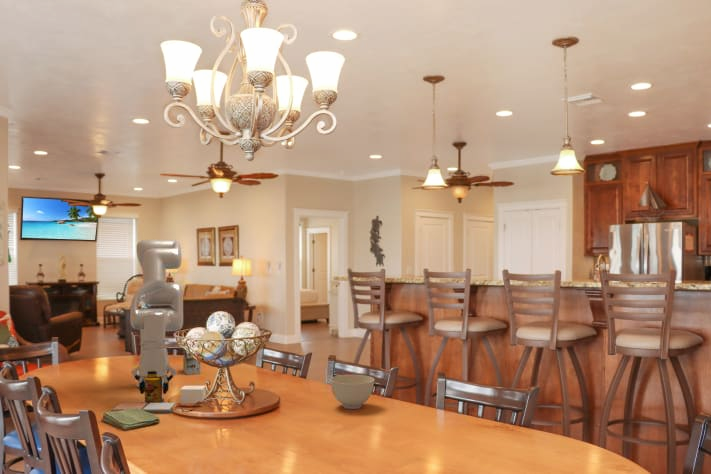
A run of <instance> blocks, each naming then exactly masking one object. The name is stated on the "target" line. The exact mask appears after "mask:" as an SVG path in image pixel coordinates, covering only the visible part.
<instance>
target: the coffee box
mask: <svg viewBox="0 0 711 474" xmlns="http://www.w3.org/2000/svg"><path fill="white" fill-rule="evenodd" d="M182 359H183V373H184V374H185V375H199V374H201V361H200V362H199V361H197V360H196V359H194V358H193V357H191V356H189V355H188V354H187V353H186V352H185V350H184V349H183V358H182Z"/></svg>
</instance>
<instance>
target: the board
mask: <svg viewBox="0 0 711 474" xmlns="http://www.w3.org/2000/svg"><path fill="white" fill-rule="evenodd" d="M175 404H177V405H178V403H177V402H164V403H143V402H121V403H120V404H118V405H116V407H114V408H113V409H111V411H110V412H112V411H122V410H124V409H132V408H138V409H142V410H143V411H145V412H149V413H152V414H171V413H172V412H173V411H174V410H173V406H174V405H175ZM172 410H173V411H172Z"/></svg>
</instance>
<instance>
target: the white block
mask: <svg viewBox="0 0 711 474" xmlns="http://www.w3.org/2000/svg"><path fill="white" fill-rule="evenodd" d="M205 396H206V397H207V385H183V386H182V387H181V388H180V389H179V401H180V402H179V404H180V403H197V402H199V401H202V400H203V399H204V398H205Z"/></svg>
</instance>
